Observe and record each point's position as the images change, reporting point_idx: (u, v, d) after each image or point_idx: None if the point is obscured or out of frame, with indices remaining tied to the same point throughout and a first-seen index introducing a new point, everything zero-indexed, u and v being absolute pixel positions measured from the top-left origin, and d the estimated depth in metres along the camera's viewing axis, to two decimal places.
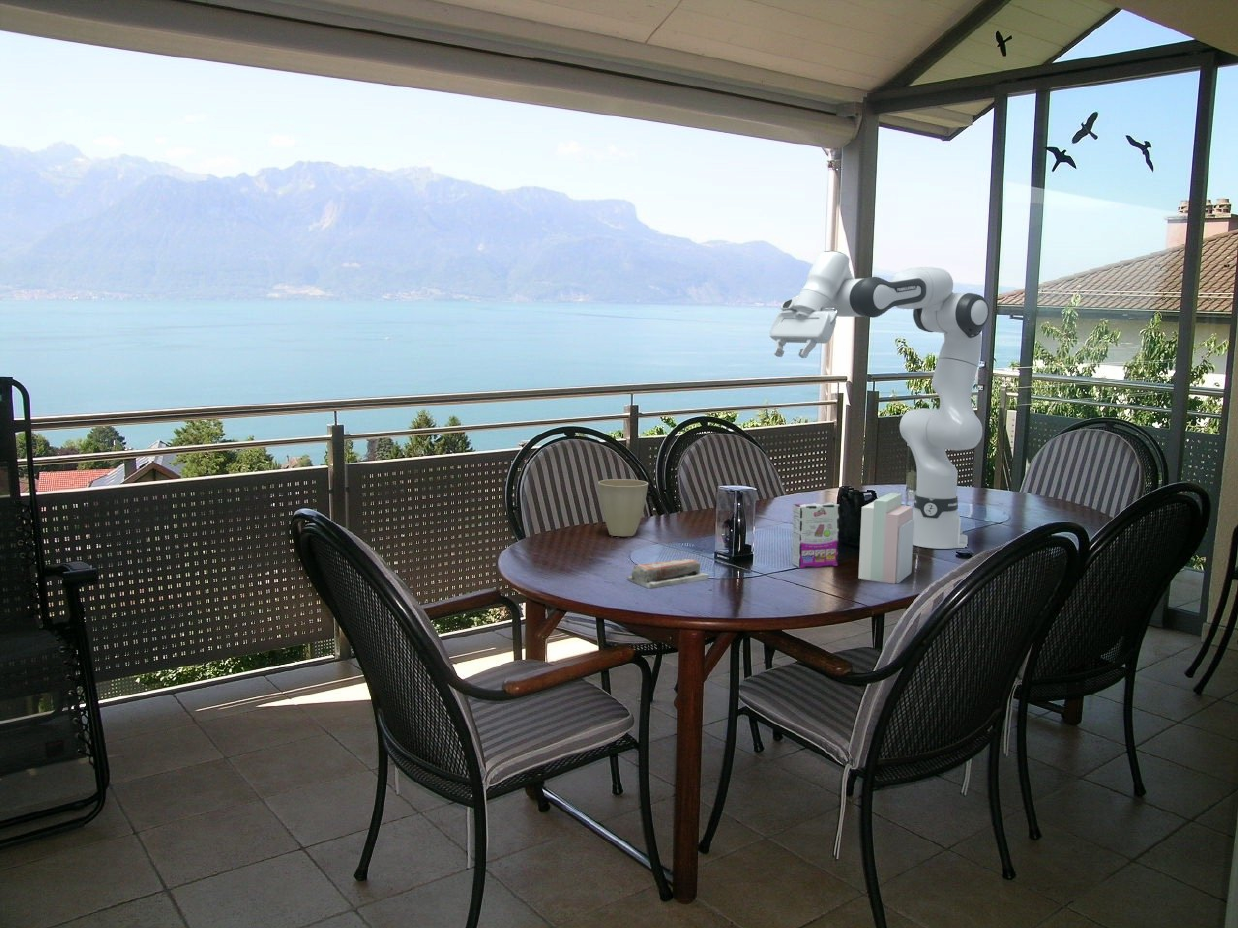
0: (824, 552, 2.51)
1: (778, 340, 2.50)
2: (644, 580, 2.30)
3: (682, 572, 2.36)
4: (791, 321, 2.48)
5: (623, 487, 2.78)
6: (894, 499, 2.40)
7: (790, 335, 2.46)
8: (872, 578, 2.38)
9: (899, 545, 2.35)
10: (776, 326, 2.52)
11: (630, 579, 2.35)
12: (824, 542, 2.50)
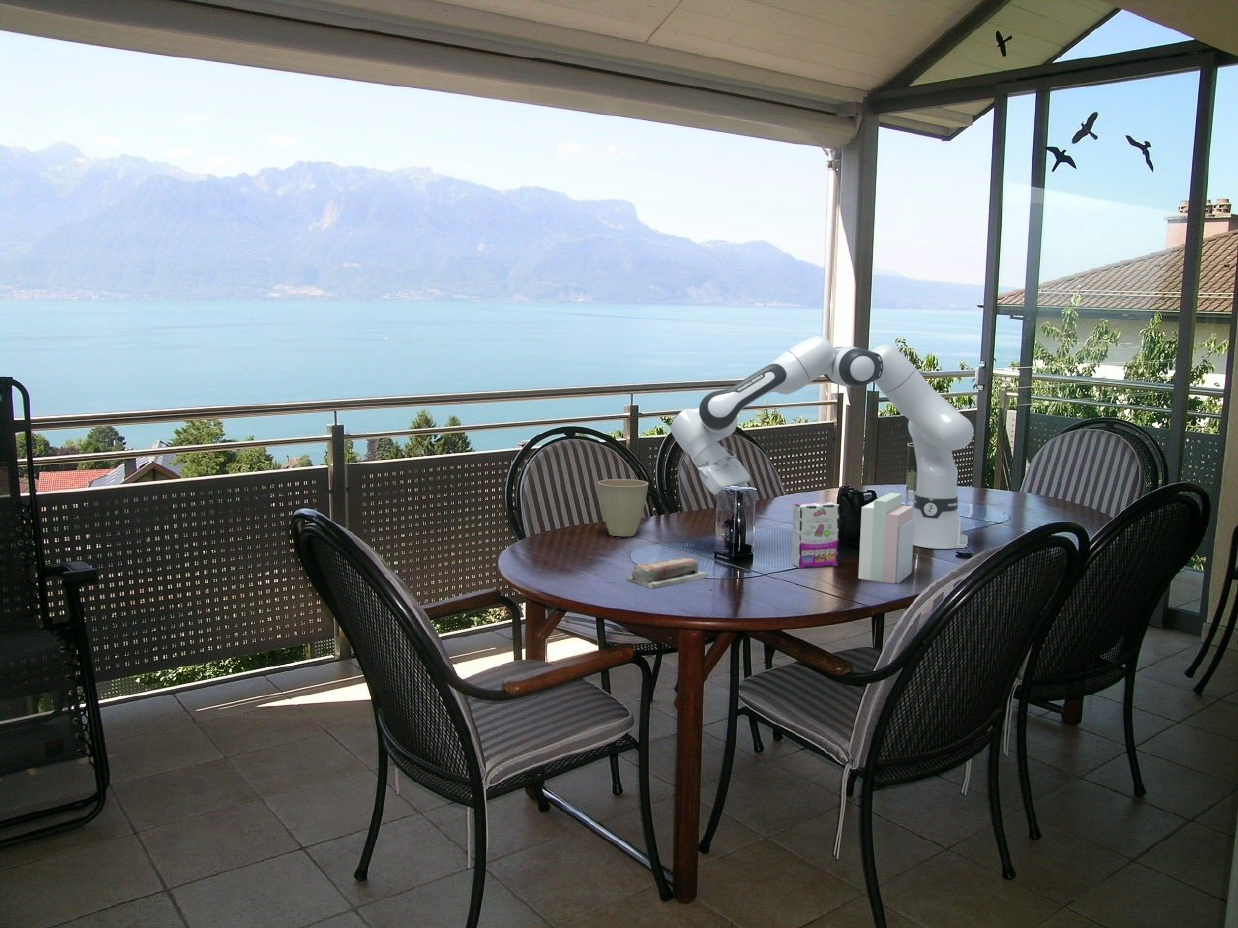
0: (824, 552, 2.51)
1: None
2: (645, 580, 2.30)
3: (681, 571, 2.36)
4: None
5: (623, 487, 2.78)
6: (894, 499, 2.40)
7: None
8: (872, 578, 2.38)
9: (899, 545, 2.35)
10: None
11: (630, 580, 2.35)
12: (824, 542, 2.50)
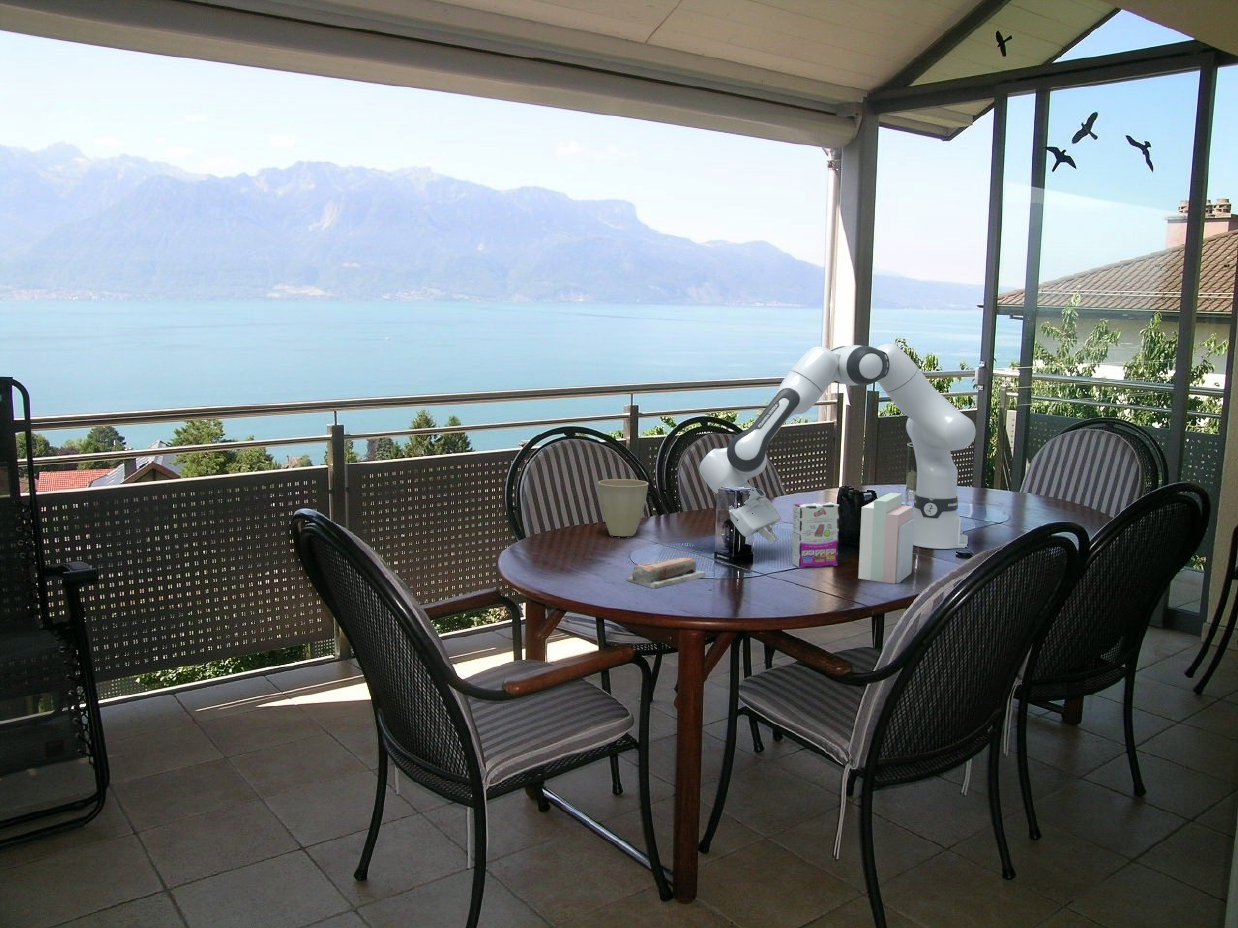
0: (824, 552, 2.51)
1: None
2: (647, 580, 2.30)
3: (680, 571, 2.37)
4: None
5: (624, 487, 2.78)
6: (894, 499, 2.40)
7: None
8: (872, 578, 2.38)
9: (899, 545, 2.35)
10: None
11: (630, 580, 2.34)
12: (824, 542, 2.50)
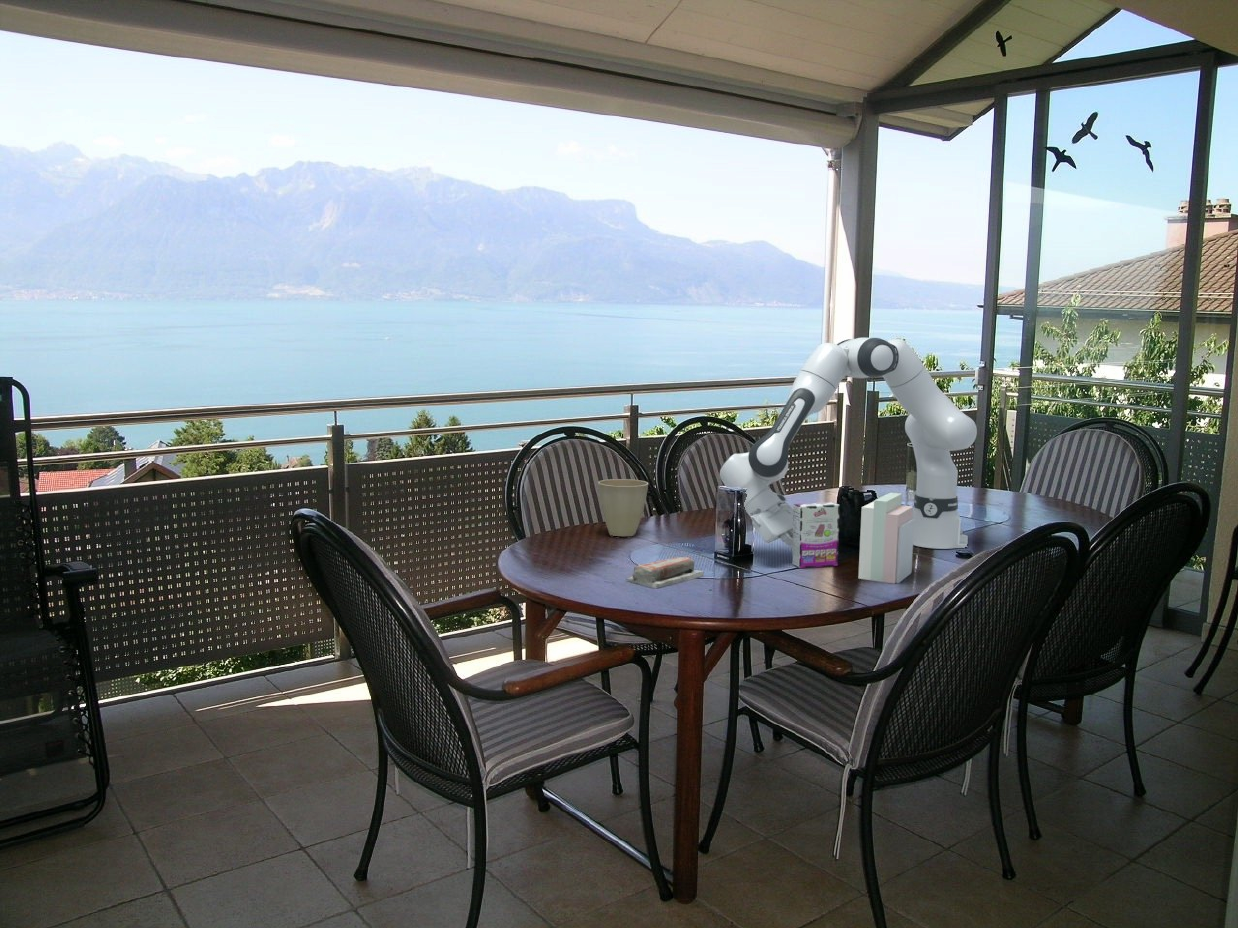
0: (824, 552, 2.51)
1: None
2: (649, 580, 2.30)
3: (680, 570, 2.37)
4: None
5: (624, 487, 2.78)
6: (894, 499, 2.40)
7: None
8: (872, 578, 2.38)
9: (899, 545, 2.35)
10: None
11: (631, 580, 2.34)
12: (825, 542, 2.50)
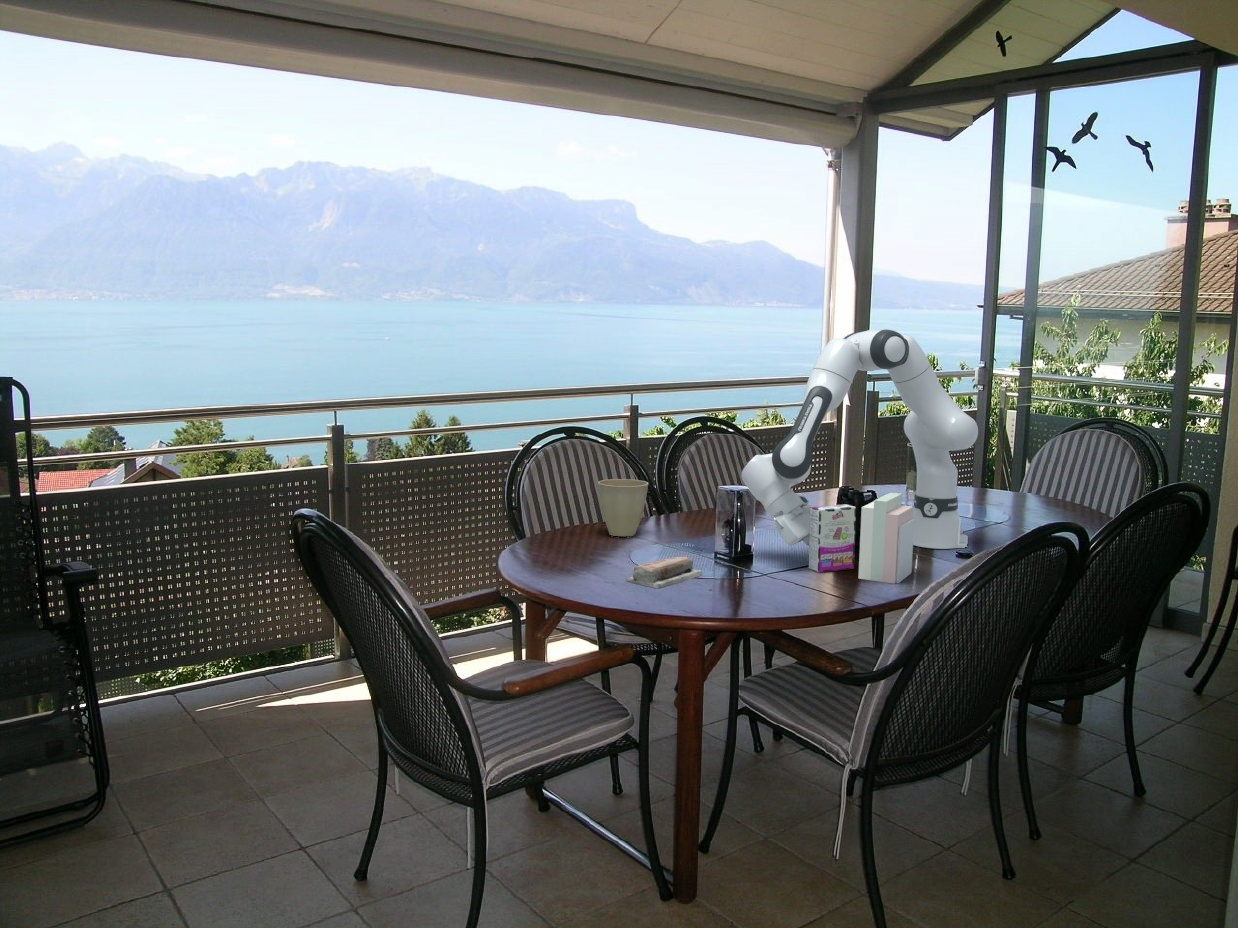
0: (841, 555, 2.47)
1: None
2: (650, 580, 2.30)
3: (679, 570, 2.38)
4: None
5: (623, 487, 2.78)
6: (894, 499, 2.40)
7: None
8: (872, 578, 2.38)
9: (899, 545, 2.35)
10: None
11: (631, 581, 2.34)
12: (842, 545, 2.47)
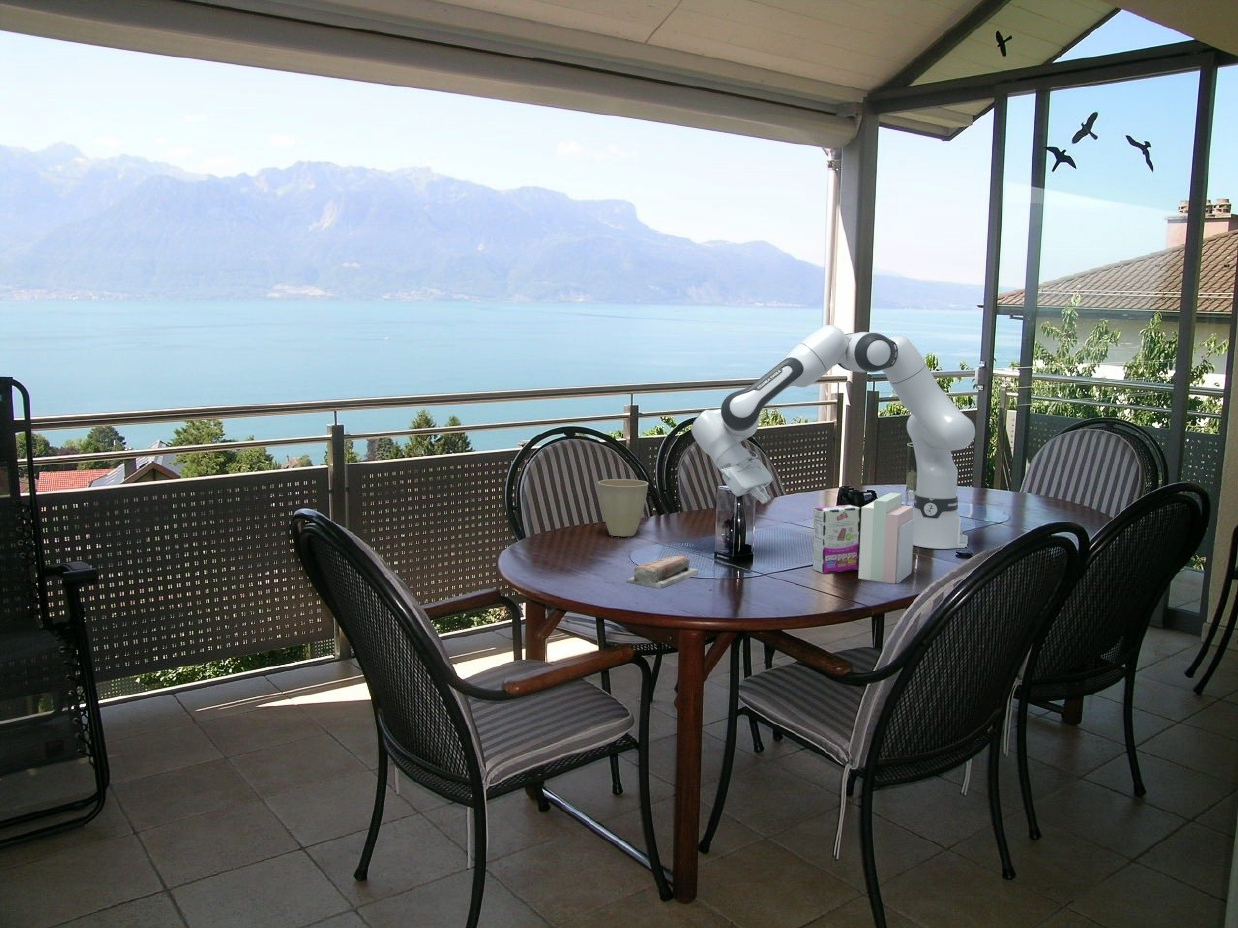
0: (846, 556, 2.46)
1: None
2: (652, 580, 2.30)
3: (677, 569, 2.38)
4: None
5: (624, 487, 2.78)
6: (894, 499, 2.40)
7: None
8: (872, 578, 2.38)
9: (899, 545, 2.35)
10: None
11: (632, 581, 2.33)
12: (846, 546, 2.46)
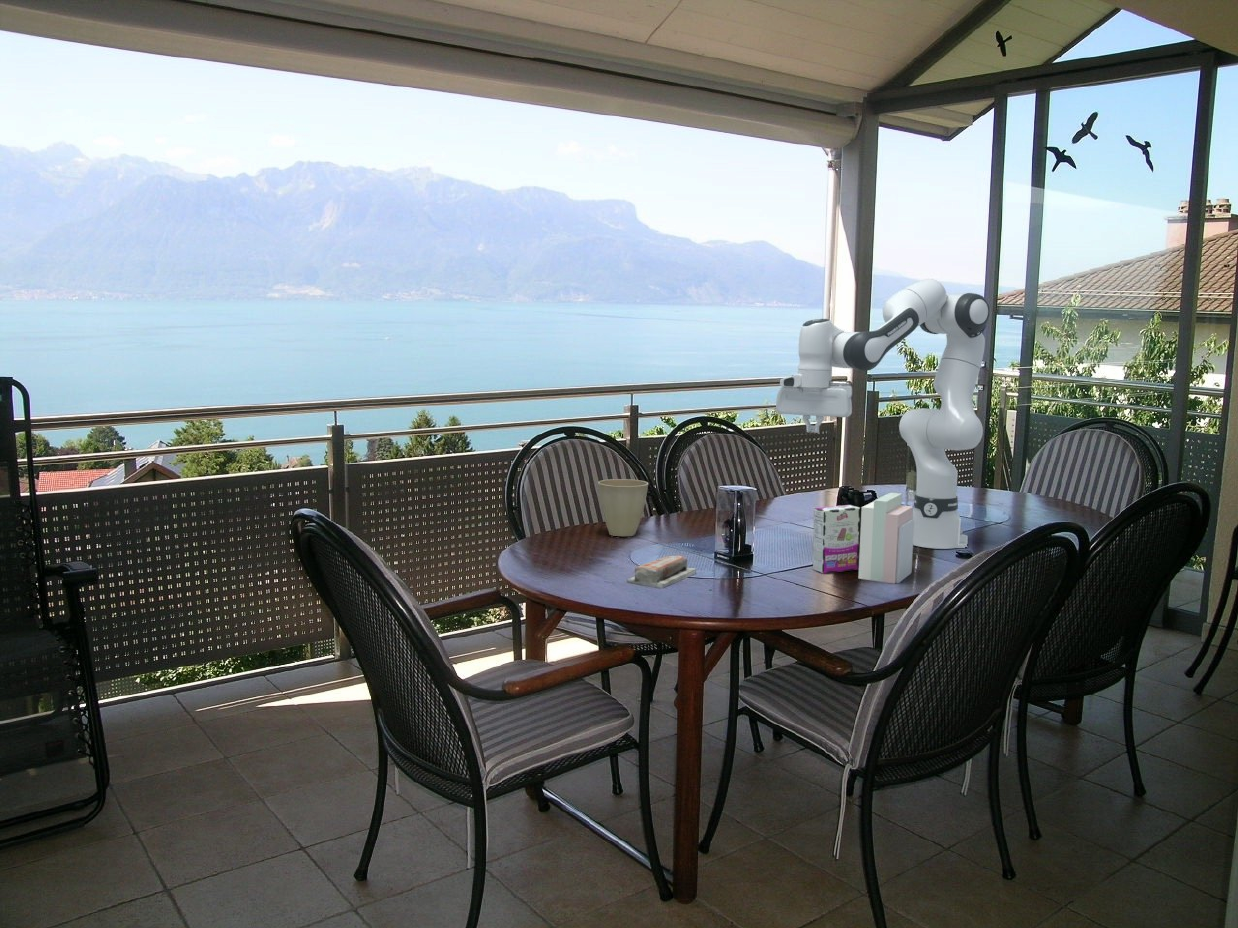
0: (846, 556, 2.46)
1: (805, 417, 2.58)
2: (653, 580, 2.30)
3: (677, 569, 2.39)
4: (799, 397, 2.58)
5: (623, 487, 2.78)
6: (894, 499, 2.40)
7: (807, 413, 2.57)
8: (872, 578, 2.38)
9: (899, 545, 2.35)
10: (782, 403, 2.60)
11: (632, 581, 2.33)
12: (846, 546, 2.46)
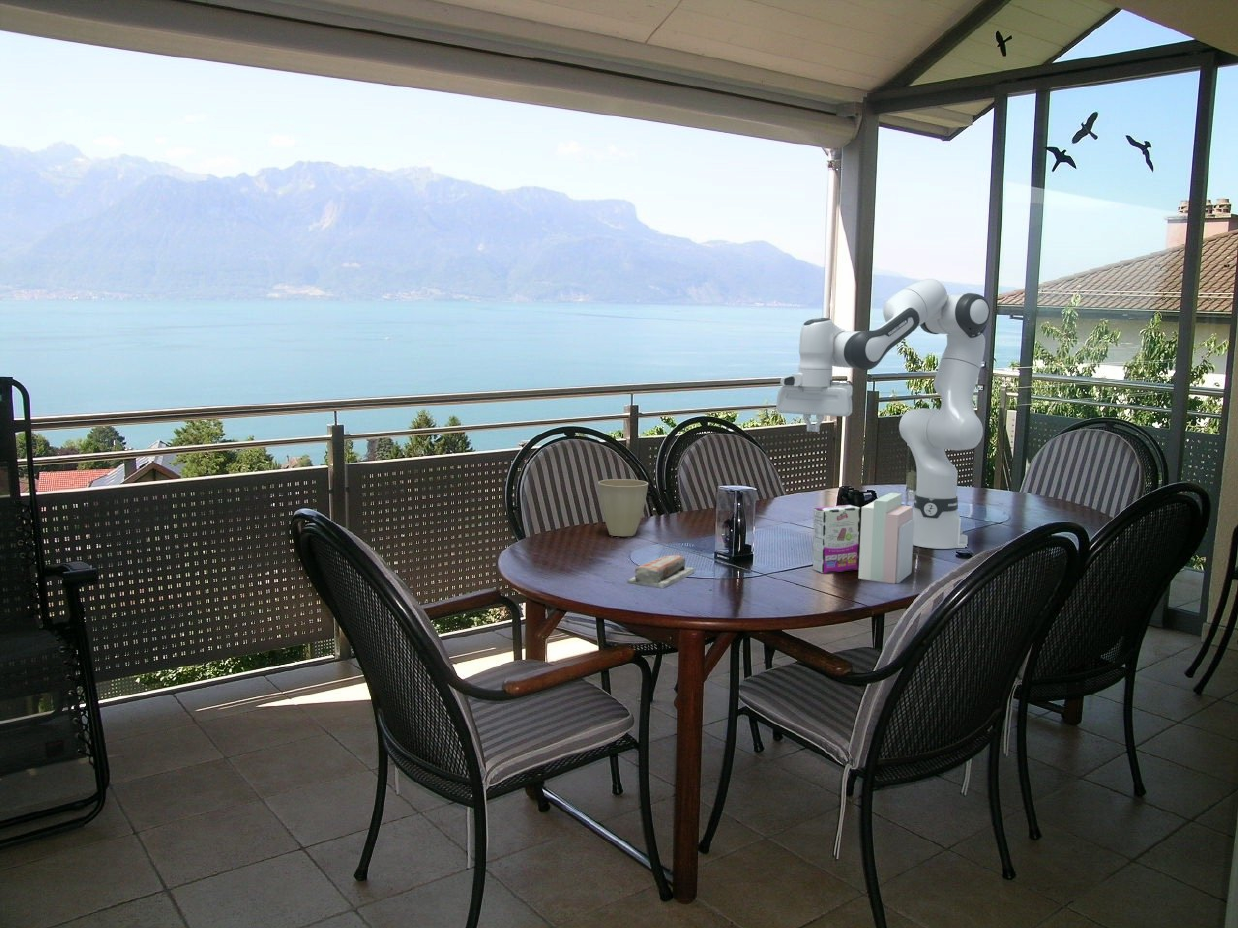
0: (846, 556, 2.46)
1: (805, 417, 2.58)
2: (654, 580, 2.30)
3: (676, 568, 2.39)
4: (800, 397, 2.58)
5: (623, 487, 2.78)
6: (894, 499, 2.40)
7: (807, 413, 2.57)
8: (872, 578, 2.38)
9: (899, 545, 2.35)
10: (782, 402, 2.60)
11: (633, 582, 2.33)
12: (846, 546, 2.46)
